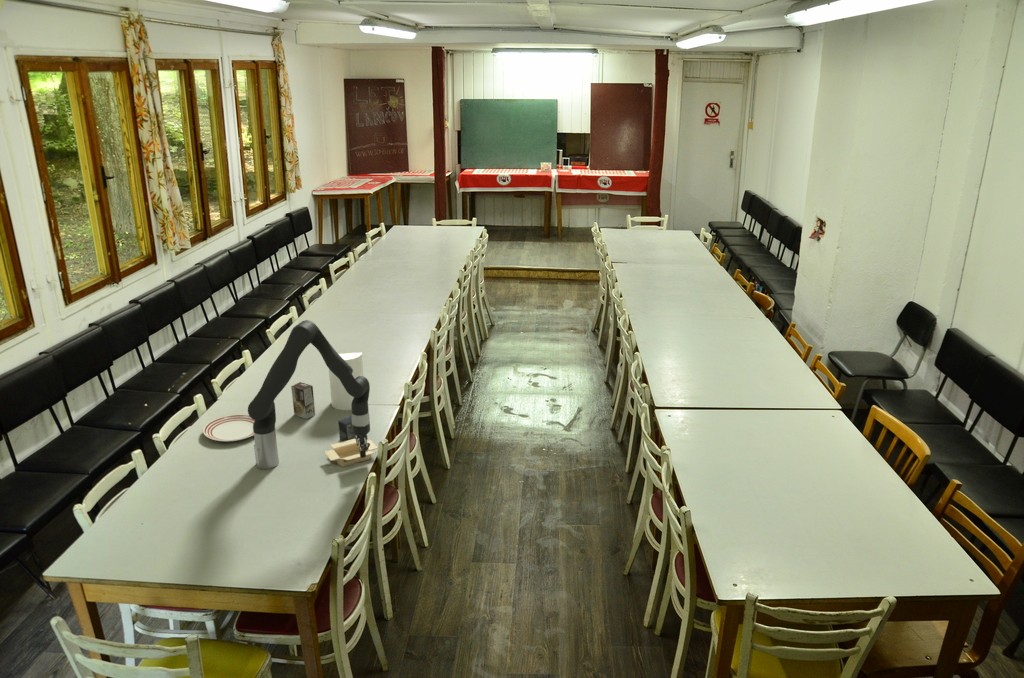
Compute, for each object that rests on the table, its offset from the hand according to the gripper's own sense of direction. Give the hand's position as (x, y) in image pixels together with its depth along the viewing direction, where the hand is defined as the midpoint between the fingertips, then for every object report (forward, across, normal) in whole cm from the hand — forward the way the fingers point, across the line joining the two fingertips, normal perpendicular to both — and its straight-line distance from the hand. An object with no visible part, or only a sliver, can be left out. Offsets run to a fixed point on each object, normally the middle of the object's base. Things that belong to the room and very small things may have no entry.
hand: (362, 456), depth 332 cm
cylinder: (+8, -70, +19) cm, 73 cm away
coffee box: (+8, -68, -5) cm, 69 cm away
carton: (+8, -17, 0) cm, 19 cm away
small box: (+8, -33, +7) cm, 35 cm away
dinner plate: (+9, -67, -40) cm, 79 cm away
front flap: (+4, -10, 0) cm, 10 cm away
